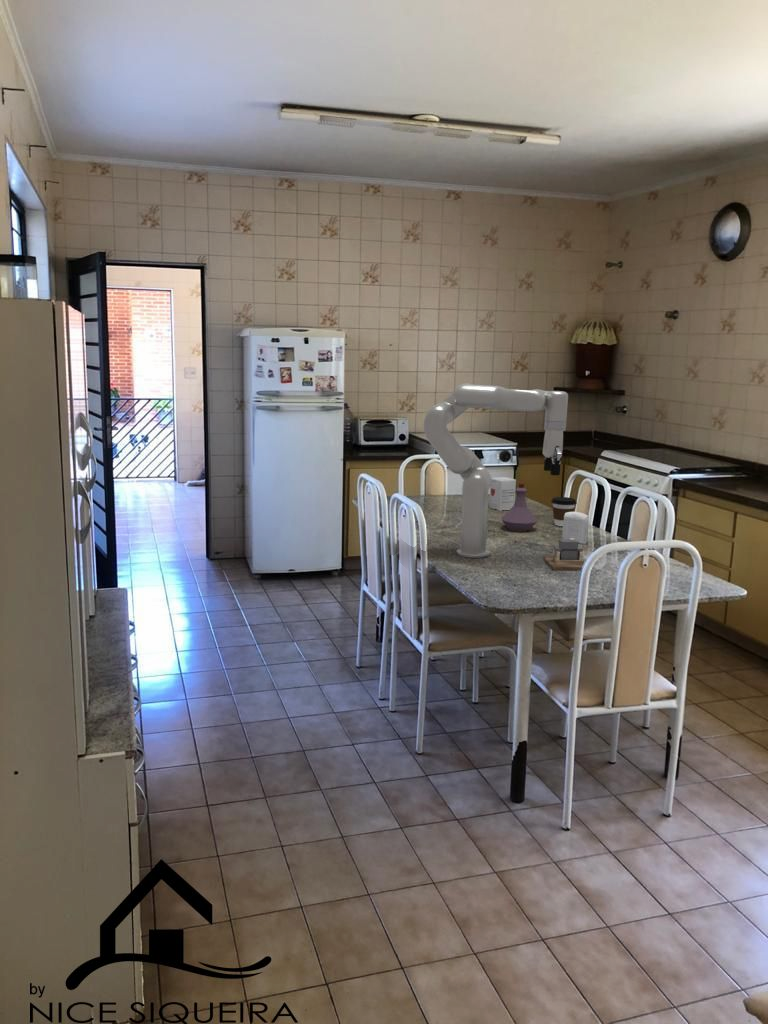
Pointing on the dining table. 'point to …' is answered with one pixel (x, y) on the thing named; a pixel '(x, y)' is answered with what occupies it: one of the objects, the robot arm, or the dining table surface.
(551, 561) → the dock
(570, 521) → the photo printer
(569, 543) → the servo block
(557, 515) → the coffee cup
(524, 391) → the robot arm
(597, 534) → the dining table surface
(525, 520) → the flask
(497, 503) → the supplement box
